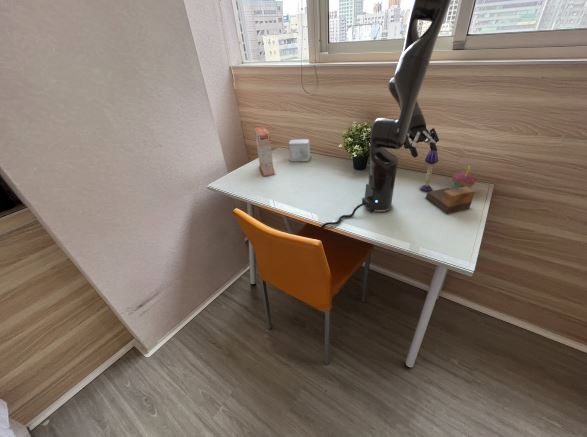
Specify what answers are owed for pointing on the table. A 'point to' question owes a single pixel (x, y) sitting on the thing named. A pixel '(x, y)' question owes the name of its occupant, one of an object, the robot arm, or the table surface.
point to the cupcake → (463, 179)
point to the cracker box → (264, 150)
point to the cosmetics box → (299, 150)
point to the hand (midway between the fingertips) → (425, 155)
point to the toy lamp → (429, 169)
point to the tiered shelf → (443, 207)
